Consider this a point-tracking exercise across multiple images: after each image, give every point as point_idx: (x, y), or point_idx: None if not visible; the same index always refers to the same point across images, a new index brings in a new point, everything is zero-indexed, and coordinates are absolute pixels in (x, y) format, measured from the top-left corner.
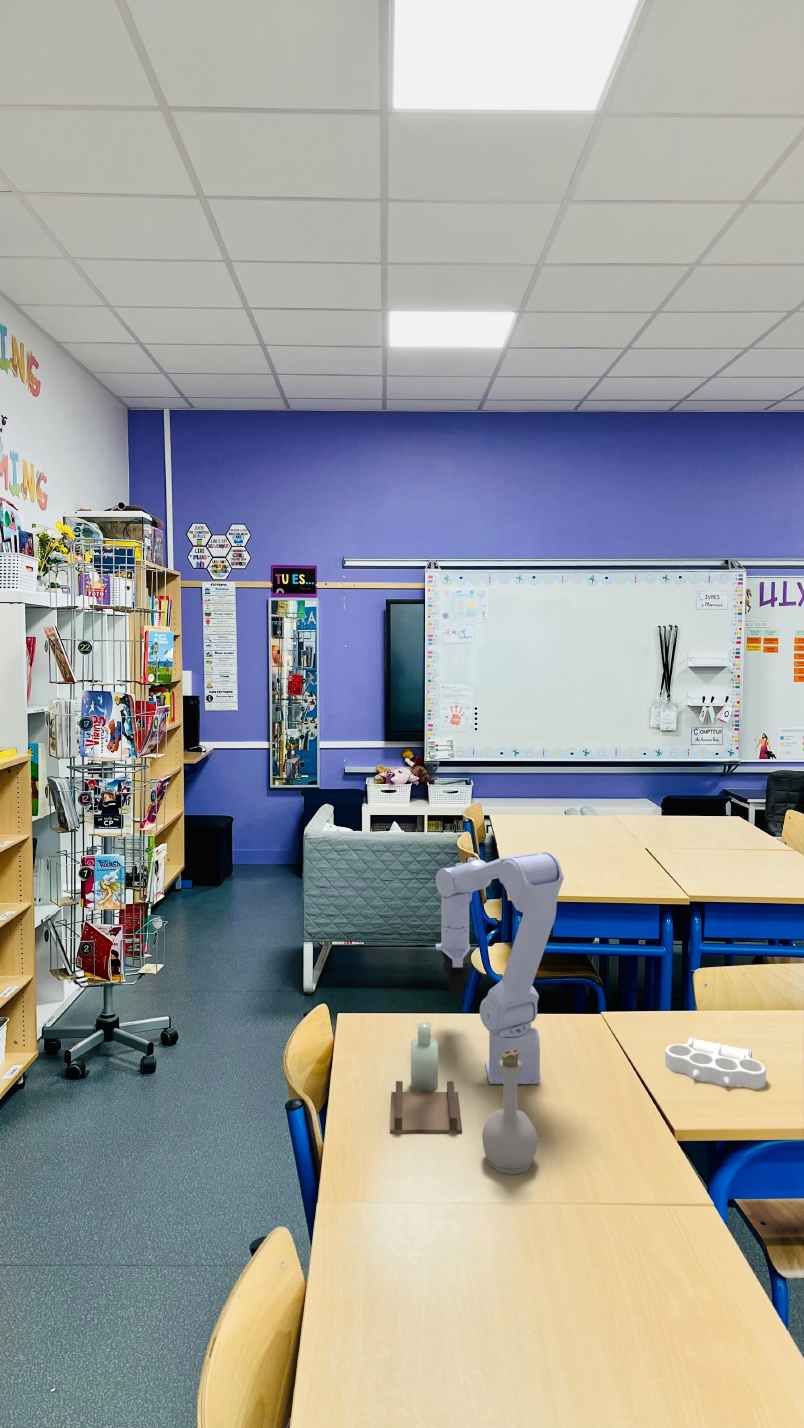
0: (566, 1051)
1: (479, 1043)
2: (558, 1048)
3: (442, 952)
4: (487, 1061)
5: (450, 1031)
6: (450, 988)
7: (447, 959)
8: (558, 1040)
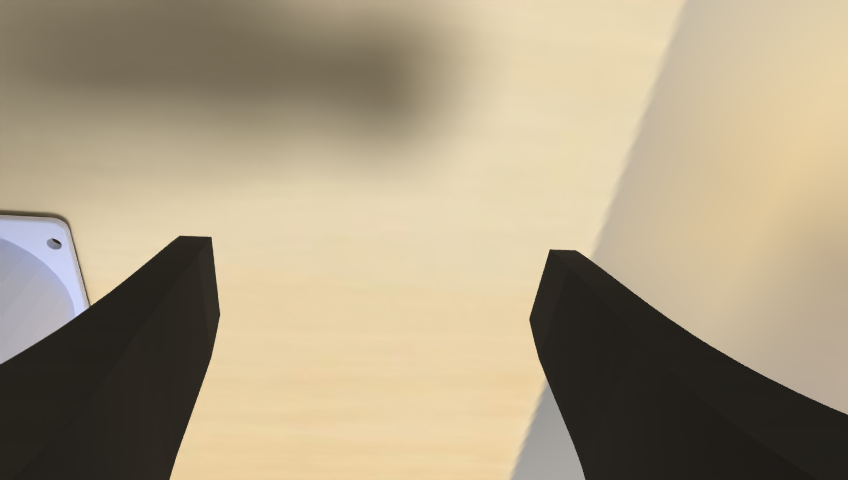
0: (233, 470)
1: (296, 219)
2: (255, 455)
3: (784, 476)
4: (58, 232)
5: (444, 99)
6: (127, 283)
7: (673, 423)
8: (317, 461)
